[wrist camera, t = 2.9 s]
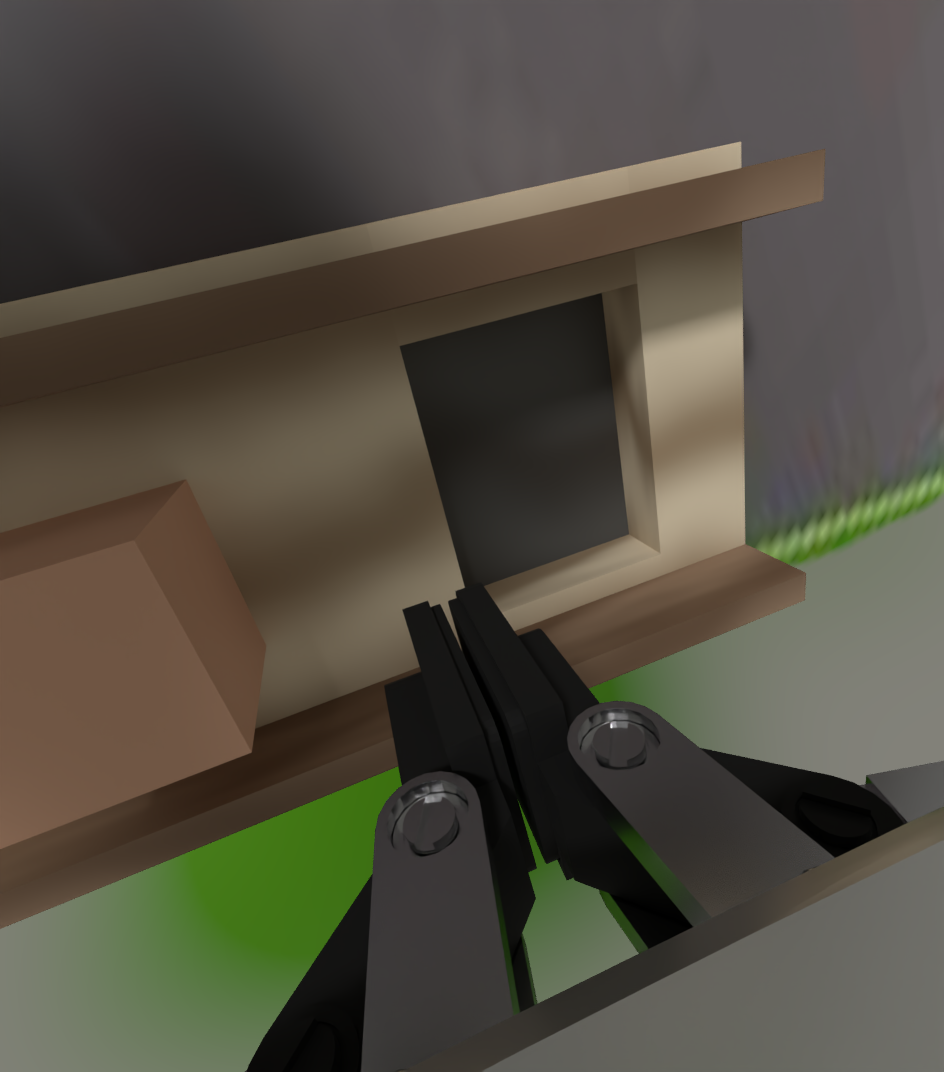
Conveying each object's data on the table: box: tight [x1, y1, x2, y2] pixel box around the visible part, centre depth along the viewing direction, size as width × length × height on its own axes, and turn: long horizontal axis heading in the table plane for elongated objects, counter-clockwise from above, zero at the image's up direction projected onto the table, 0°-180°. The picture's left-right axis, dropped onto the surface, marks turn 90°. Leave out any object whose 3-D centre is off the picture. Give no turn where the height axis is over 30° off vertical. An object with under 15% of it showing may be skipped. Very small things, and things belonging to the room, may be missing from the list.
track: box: [0, 142, 825, 929], centre depth 16 cm, size 16×40×6 cm, turn 104°
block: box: [0, 479, 266, 849], centre depth 13 cm, size 6×6×5 cm
